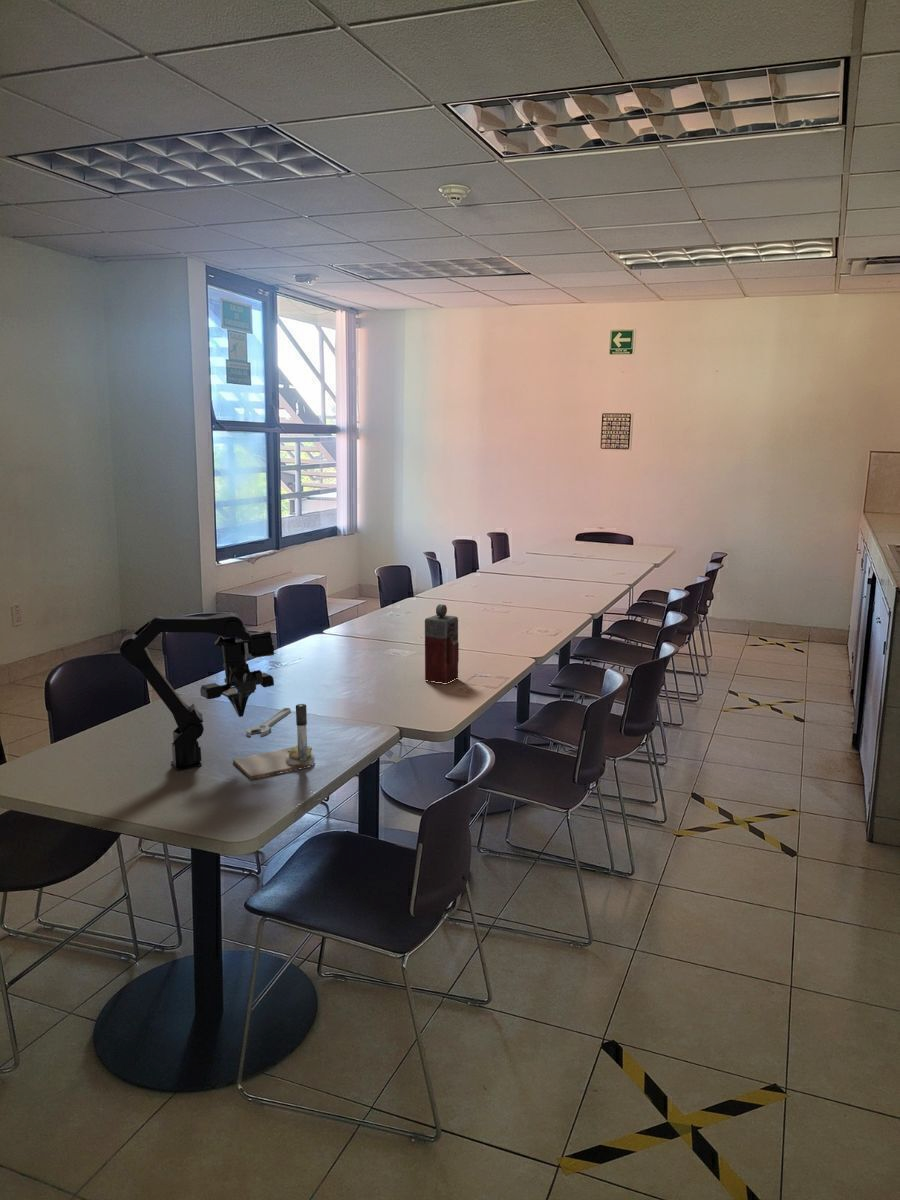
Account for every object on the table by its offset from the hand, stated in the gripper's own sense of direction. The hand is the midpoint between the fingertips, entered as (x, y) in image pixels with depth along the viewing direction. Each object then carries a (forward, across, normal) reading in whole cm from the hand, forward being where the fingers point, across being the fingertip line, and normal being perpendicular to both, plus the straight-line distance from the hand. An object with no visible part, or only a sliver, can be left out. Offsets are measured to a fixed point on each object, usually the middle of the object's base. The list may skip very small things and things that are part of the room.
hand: (240, 716), depth 229 cm
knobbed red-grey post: (+14, +89, +32) cm, 96 cm away
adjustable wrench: (+12, +19, +24) cm, 33 cm away
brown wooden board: (+13, +5, -8) cm, 16 cm away
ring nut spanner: (+11, +10, -14) cm, 20 cm away
